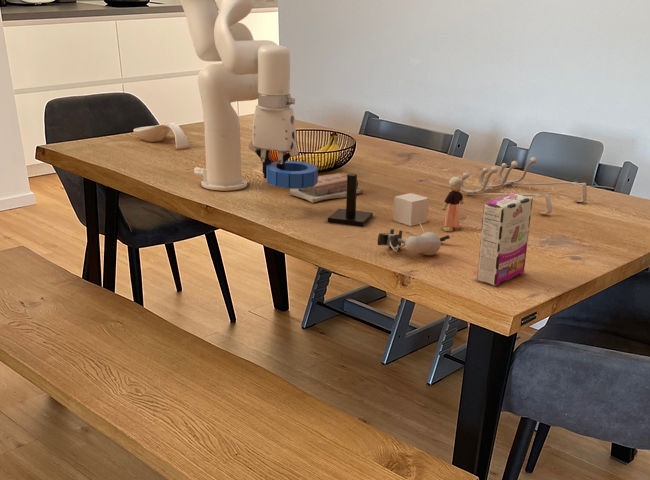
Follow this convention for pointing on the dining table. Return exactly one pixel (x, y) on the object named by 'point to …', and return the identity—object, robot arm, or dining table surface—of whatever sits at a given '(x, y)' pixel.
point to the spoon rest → (162, 134)
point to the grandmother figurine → (453, 205)
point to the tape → (292, 175)
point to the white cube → (410, 209)
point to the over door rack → (504, 182)
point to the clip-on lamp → (413, 242)
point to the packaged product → (325, 188)
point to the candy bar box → (504, 238)
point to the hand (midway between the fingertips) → (273, 177)
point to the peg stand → (350, 207)
